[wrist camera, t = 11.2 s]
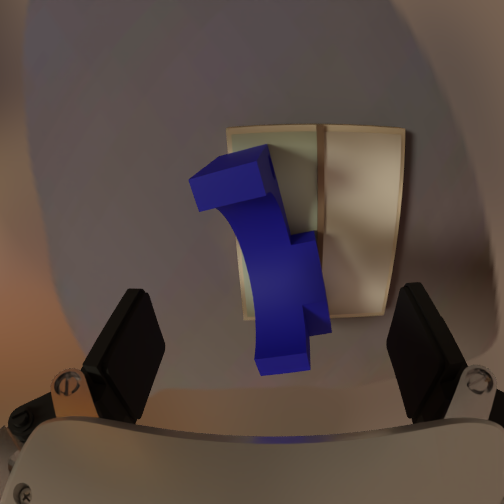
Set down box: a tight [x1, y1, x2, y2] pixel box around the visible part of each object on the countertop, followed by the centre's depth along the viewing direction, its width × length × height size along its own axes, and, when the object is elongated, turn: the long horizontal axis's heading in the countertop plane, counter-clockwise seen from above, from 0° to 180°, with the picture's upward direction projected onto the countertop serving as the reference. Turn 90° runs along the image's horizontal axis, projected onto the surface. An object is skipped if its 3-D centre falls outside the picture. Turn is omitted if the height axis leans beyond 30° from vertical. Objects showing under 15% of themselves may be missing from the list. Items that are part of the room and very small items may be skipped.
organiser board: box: [226, 124, 405, 320], centre depth 20 cm, size 14×11×2 cm
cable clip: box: [189, 144, 332, 376], centre depth 17 cm, size 12×4×6 cm, turn 16°
